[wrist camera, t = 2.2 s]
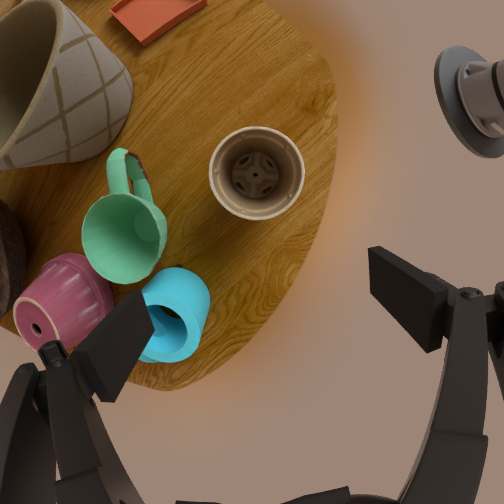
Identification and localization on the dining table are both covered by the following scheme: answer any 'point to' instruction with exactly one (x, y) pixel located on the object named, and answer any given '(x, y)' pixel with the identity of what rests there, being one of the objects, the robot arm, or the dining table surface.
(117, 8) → the pot tray
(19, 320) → the flower pot
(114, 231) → the mug
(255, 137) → the flower pot
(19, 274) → the bowl
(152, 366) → the dining table surface
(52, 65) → the planter
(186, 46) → the dining table surface
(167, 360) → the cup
